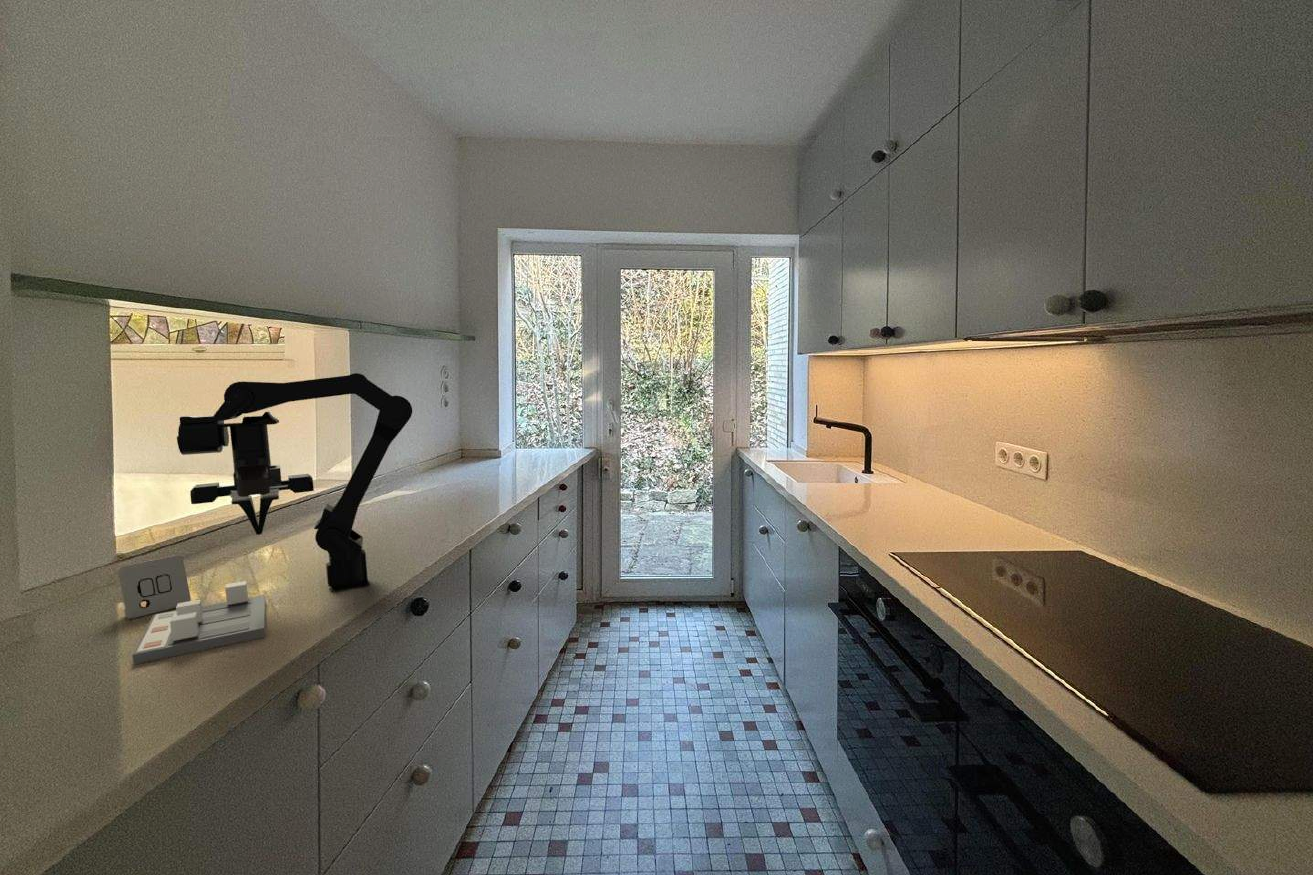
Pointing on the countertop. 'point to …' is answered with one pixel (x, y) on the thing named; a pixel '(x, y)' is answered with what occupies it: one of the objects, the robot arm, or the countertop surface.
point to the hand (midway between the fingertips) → (259, 534)
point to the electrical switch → (153, 586)
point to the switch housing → (204, 630)
